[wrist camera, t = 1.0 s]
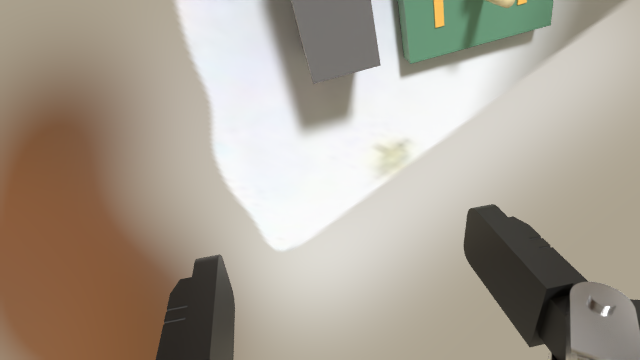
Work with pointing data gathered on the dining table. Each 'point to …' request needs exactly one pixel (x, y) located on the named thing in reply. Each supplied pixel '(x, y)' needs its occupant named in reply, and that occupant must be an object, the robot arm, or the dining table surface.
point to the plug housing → (336, 36)
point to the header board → (465, 23)
